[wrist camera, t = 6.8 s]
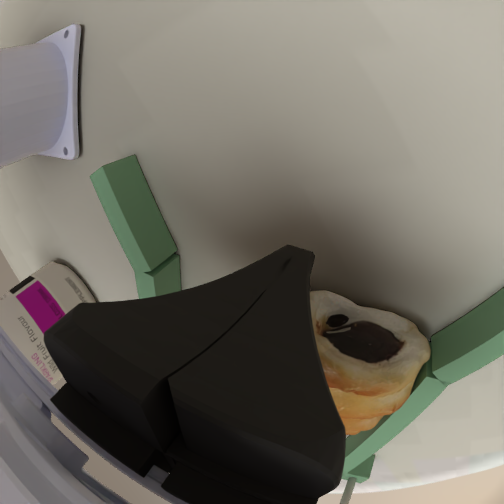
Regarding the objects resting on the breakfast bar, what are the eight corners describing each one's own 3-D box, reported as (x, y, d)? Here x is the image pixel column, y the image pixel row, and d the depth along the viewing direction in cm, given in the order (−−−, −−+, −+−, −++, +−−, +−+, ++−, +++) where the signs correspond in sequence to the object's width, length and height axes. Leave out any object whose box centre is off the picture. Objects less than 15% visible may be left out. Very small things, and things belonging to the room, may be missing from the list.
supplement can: (93, 275, 19) (-55, 402, 7) (118, 349, 23) (12, 459, 12) (43, 246, 22) (-77, 336, 10) (67, 314, 26) (-28, 399, 14)
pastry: (353, 423, 15) (336, 476, 12) (254, 385, 17) (225, 433, 14) (440, 321, 10) (443, 397, 7) (290, 263, 12) (249, 325, 9)
